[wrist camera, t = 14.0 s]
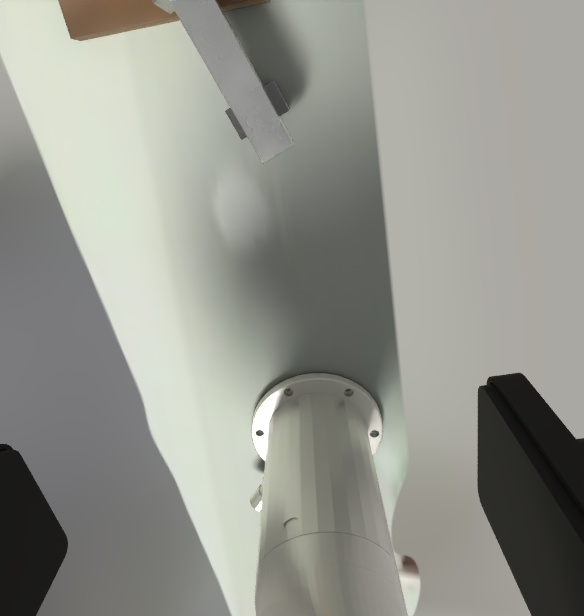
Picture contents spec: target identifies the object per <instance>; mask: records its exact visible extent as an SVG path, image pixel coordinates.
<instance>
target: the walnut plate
mask: <svg viewBox="0 0 584 616" xmlns="http://www.w3.org/2000/svg"><path fill="white" fill-rule="evenodd" d="M58 1H59V4H60V7H61V10H62V13H63V16H64V19H65V22H66V25H67V28H68V31H69V34H70V37H71V39H75V40H79V41H83V40H88V39H93V38H97V37H102V36H107V35H112V34H117V33H121V32H126V31H131V30H136V29H141V28H145V27H150V26H155V25H160V24H165V23H169V22H174V21H179V20H180V19H179V17H178V16H177V14H176V12H175V11H174V12H173V13H171V14H169V13H168V12H166V11H165V10H163V9H161V8H160V7H158V6H157V5H155V4H154V3H153V2H152V0H58ZM217 1H218V3H219V4H220V6H221V8H222V10H223V11H227V10H232V9H237V8H241V7H246V6H251V5H256V4H261V3H265V2H270V0H217Z"/></svg>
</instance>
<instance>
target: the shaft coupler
mask: <svg viewBox="0 0 584 616" xmlns="http://www.w3.org/2000/svg"><path fill="white" fill-rule="evenodd" d="M152 2H153V3H154V4H155V5H157V6H158V7H160V8H161V9H163V10H165V11H166V12H168V13H169V14H171V13H173V12H174V11H175V12H176V14H177V16H178V17H179V19H180V21H181V22H182V24H183V26H184V28H185V29H186V31H187V33H188V35H189V36H190V38H191V40H192V42H193V43H194V45H195V47H196V48H197V50H198V52H199V54H200V55H201V57H202V59H203V61H204V62H205V64H206V66H207V68H208V69H209V71H210V73H211V74H212V76H213V78H214V80H215V81H216V83H217V85H218V87H219V88H220V90H221V92H222V94H223V95H224V97H225V99H226V100H227V102H228V104H229V106H230V107H231V108H229V109H228V110H226V111H225V112H226V114H227V115H228V117H229V119H230V120H231V122H232V124H233V126H234V127H235V129H236V131H237V132H238V134H239V136H240V138H241V139H244V138H246V137H248V139H249V140H250V142H251V144H252V145H253V147H254V149H255V151H256V152H257V154H258V156H259V158H260V159H261V161H262V163H265V162H267V161H268V160H270V159H272V158H273V157H275V156H276V155H278V154H280V153H281V152H283V151H285V150H286V149H288V148H290V147H291V146H293V140H292V138H291V136H290V134H289V132H288V131H287V129H286V127H285V125H284V123H283V121H282V119H281V118H280V116H281V115H282V114H284V113H285V112H287V111H289V109H290V108H289V106H288V105H287V103H286V101H285V99H284V97H283V95H282V93H281V91H280V89H279V87H278V86H277V84H276V82H275V81H274V80H272V81H271V82H269V83H268V84H266V85H265V86H263V84H262V82H261V81H260V79H259V77H258V75H257V73H256V71H255V69H254V68H253V66H252V64H251V62H250V60H249V58H248V56H247V55H246V53H245V51H244V49H243V47H242V45H241V43H240V42H239V40H238V38H237V36H236V34H235V32H234V30H233V29H232V27H231V25H230V23H229V21H228V19H227V17H226V16H225V14H224V12H223V10H222V8H221V6H220V4H219V3H218V1H217V0H152Z"/></svg>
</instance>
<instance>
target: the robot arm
mask: <svg viewBox="0 0 584 616" xmlns="http://www.w3.org/2000/svg"><path fill="white" fill-rule="evenodd" d="M382 434H383V424H382V418H381V414H380V410H379V408H378V406H377V404H376V402H375V400H374V399H373V398H372V396H371V395H370V394H369V393H368V392H367V391H366V390H365V389H364V388H363V387H361V386H360V385H359V384H357V383H355V382H353V381H351V380H350V379H347V378H344V377H341V376H338V375H333V374H327V373H310V374H303V375H298V376H295V377H292V378H289V379H286V380H285V381H283V382H281V383H279V384H277V385H276V386H274V387H273V388H272V389H270V390H269V391H268V392H267V393H266V394H265V395H264V396H263V398H262V399H261V400H260V402H259V403H258V405H257V407H256V409H255V412H254V416H253V420H252V440H253V443H254V445H255V448H256V450H257V452H258V453H259V455H260V456H261V458H262V459H263V460H264V461H265V470H264V476H263V483H262V484H261V485H260V486H259V487H258V488H257V490H256V491H255V492H254V494H253V495H252V496H251V498H250V503H251V505H252V507H253V508H254V509H255V510H257V511H259V512H261V520H260V532H259V545H258V557H257V570H256V584H255V610H256V616H408V614H407V610H406V606H405V601H404V597H403V592H402V588H401V583H400V579H399V574H398V570H397V566H396V561H395V557H394V552H393V547H392V543H391V538H390V533H389V529H388V524H387V519H386V515H385V510H384V506H383V501H382V496H381V492H380V487H379V482H378V478H377V473H376V468H375V464H374V459H373V455H374V454H375V452H376V451H377V449H378V447H379V445H380V442H381V439H382ZM478 493H479V498H480V502H481V504H482V507H483V509H484V512H485V514H486V516H487V518H488V521H489V523H490V525H491V527H492V529H493V532H494V534H495V536H496V538H497V540H498V543H499V545H500V547H501V549H502V552H503V554H504V556H505V558H506V560H507V563H508V565H509V567H510V569H511V571H512V573H513V576H514V578H515V580H516V582H517V585H518V587H519V589H520V591H521V593H522V595H523V598H524V600H525V602H526V604H527V606H528V609H529V611H530V613H531V615H532V616H584V438H583V439H575V437H574V436H573V435H572V434H571V432H570V431H569V430H568V429H567V428H566V426H565V425H564V424H563V423H562V421H561V420H560V419H559V418H558V416H557V415H556V414H555V413H554V412H553V410H552V409H551V408H550V407H549V405H548V404H547V403H546V402H545V400H544V399H543V398H542V397H541V396H540V394H539V393H538V392H537V391H536V389H535V388H534V387H533V386H532V384H531V383H530V382H529V381H528V380H527V378H526V377H525V376H524V375H523V374H521V373H515V374H508V375H500V376H492V377H489V378H488V380H487V385H484V386H480V387H479V389H478ZM67 548H68V541H67V537H66V535H65V533H64V531H63V530H62V527H61V526H60V524H59V522H58V520H57V519H56V517H55V515H54V513H53V511H52V510H51V508H50V506H49V504H48V502H47V501H46V499H45V497H44V495H43V494H42V492H41V490H40V488H39V486H38V485H37V483H36V481H35V480H34V478H33V476H32V474H31V472H30V471H29V469H28V467H27V465H26V464H25V462H24V460H23V458H22V456H21V455H20V453H19V452H18V451H16V450H13V449H12V447H11V446H9V445H7V444H0V616H36V614H37V612H38V610H39V608H40V606H41V604H42V602H43V600H44V598H45V596H46V594H47V592H48V590H49V588H50V586H51V584H52V582H53V580H54V578H55V576H56V574H57V572H58V570H59V568H60V566H61V564H62V562H63V560H64V558H65V555H66V553H67Z"/></svg>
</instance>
